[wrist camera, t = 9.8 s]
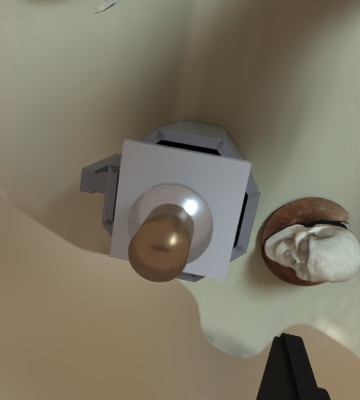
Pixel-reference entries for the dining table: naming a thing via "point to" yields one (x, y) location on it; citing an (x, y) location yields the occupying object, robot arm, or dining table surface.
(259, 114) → the dining table surface
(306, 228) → the skull
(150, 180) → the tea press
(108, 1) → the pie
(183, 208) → the plunger
